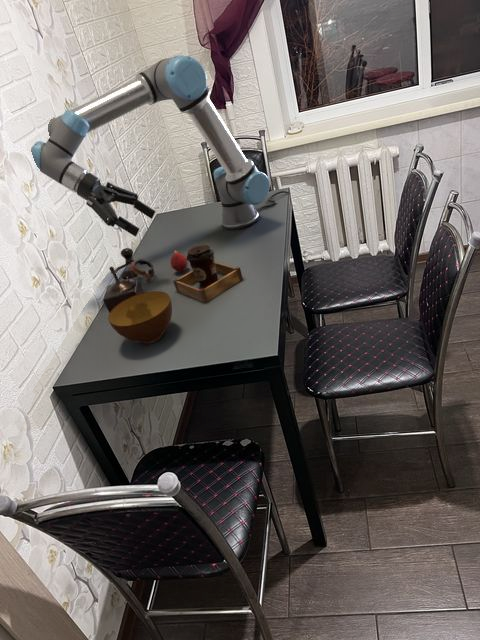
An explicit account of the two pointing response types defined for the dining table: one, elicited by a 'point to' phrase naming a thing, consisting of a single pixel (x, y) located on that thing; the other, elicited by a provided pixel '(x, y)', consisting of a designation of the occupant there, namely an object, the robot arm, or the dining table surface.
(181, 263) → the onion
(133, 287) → the manual coffee grinder
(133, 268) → the pottery mug
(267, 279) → the dining table surface
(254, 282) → the dining table surface
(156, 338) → the bowl
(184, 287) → the wooden frame
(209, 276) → the coffee cup
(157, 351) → the dining table surface
